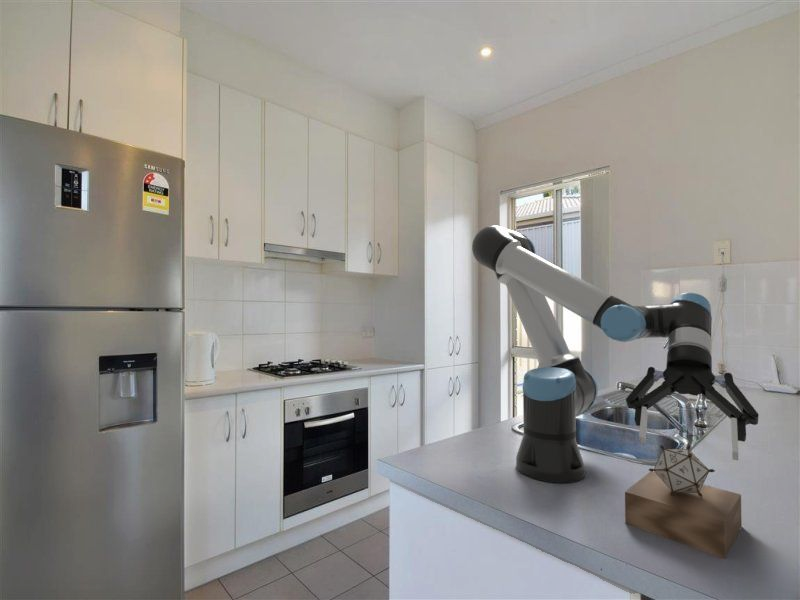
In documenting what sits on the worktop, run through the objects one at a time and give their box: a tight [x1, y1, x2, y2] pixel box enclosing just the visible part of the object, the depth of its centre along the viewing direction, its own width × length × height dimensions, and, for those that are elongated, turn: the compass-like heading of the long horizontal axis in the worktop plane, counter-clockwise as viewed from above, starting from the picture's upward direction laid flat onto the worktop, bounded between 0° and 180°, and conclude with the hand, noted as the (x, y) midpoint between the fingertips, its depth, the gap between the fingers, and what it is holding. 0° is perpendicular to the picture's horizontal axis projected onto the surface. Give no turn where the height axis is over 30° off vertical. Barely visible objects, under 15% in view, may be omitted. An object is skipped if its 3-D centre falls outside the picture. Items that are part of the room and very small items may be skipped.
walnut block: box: [624, 471, 743, 560], centre depth 72 cm, size 14×14×6 cm
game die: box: [648, 444, 716, 497], centre depth 72 cm, size 9×8×10 cm
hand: (686, 447), depth 73 cm, fingers open, 13 cm apart
